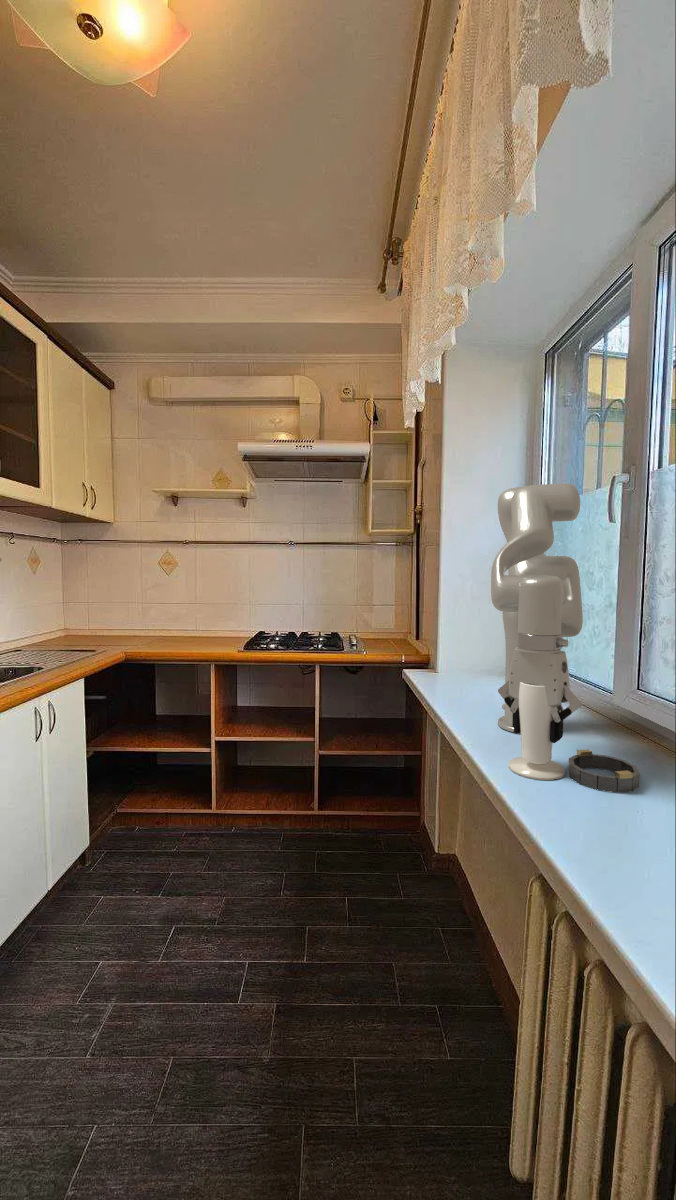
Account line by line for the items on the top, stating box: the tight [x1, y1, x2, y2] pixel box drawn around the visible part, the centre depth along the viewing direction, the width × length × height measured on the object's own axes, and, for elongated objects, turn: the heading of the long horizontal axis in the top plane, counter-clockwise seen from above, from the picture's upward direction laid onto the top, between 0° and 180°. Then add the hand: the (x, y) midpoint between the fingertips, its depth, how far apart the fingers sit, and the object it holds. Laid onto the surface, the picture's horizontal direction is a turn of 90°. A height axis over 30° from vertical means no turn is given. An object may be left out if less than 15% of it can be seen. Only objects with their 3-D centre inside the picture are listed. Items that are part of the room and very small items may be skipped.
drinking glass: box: [518, 682, 553, 764], centre depth 96 cm, size 7×7×15 cm
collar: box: [567, 748, 641, 793], centre depth 92 cm, size 12×11×3 cm
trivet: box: [508, 756, 566, 781], centre depth 96 cm, size 10×10×1 cm
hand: (536, 735), depth 96 cm, fingers closed on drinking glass, 6 cm apart
